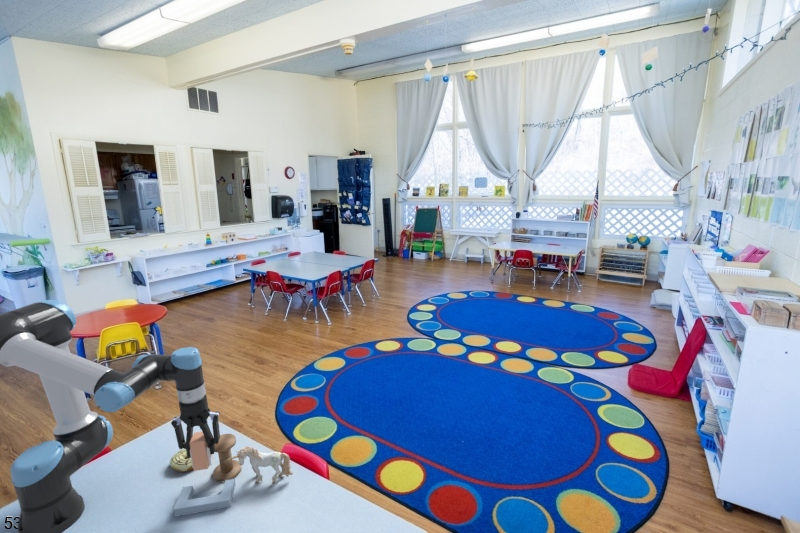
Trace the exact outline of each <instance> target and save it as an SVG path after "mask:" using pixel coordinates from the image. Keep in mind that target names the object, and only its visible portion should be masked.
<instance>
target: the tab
mask: <svg viewBox="0 0 800 533" xmlns="http://www.w3.org/2000/svg"><path fill="white" fill-rule="evenodd" d="M207 444H208V443H207V441H206V439H205V436H204V434H203V432H202V431H197V432H193V437H192V439H191V441H190V449H191V455H192V461H193V467H194V469H193V471H194V472H195V471H201V470H202V471H203V470H208V469H209V467H210V466H209V463H208V457H207V450H206V447H207Z"/></svg>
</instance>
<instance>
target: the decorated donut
mask: <svg viewBox="0 0 800 533" xmlns="http://www.w3.org/2000/svg"><path fill="white" fill-rule="evenodd" d="M169 464H170V467H171V469H173V470H174V471H176V472H181V473H183V472H190V471H194V468H193V467H192V461H191V458H188V457H187V451H186V449H184V448H182V449H179V451H177V453H175V454H174V455H172V457H171V459H170V463H169Z"/></svg>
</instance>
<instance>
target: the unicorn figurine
mask: <svg viewBox="0 0 800 533" xmlns="http://www.w3.org/2000/svg"><path fill="white" fill-rule="evenodd" d="M235 453H237V454H236V455H235V456H232V458H229V459H227V460H230V459H232V460H235V459H238V461H239V465H241V467H242V466H243V465H244V464H245V459H247V457H248V458H249V464H250V465H251V468H252V470H253V472H254V473H255V474H256V476H257V478H256V480H255V482H254V483H255V484H259V483H260V481H261V482H263V475H262V474H261V473H260V472H261V471H260V469H259V468H268V467H269V466H270V467H271V468H273V470H274V471H275V474H273V476H271V481H272V484H275V483H276V482H277V480H278V477H279V478H282V477H283V476H284V475H285V476H286V477H289V476H292V475H294V472H293V471H292V470H291V469H292V467H291V458H290V456H289V454H287V453H285V452H281V451H273V452H272V451H271V452H261V451H260V450H258V448H255V447H254V446H248V445H247V446H244V447H242V448H241V449H239V450H236V452H235ZM279 467H280V468H281V470H280V468H279Z"/></svg>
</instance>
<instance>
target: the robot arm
mask: <svg viewBox="0 0 800 533" xmlns="http://www.w3.org/2000/svg"><path fill="white" fill-rule="evenodd" d="M76 325H77V317H76V314H75V312H74V311H73V310H72V308H71V307H70V306H68V305H67V304H64V303H63V302H62V301H60V300H55V299H47V300H42V301H38V302H33V303H30V304H27V305H25V306H22V307H18V308H15V309H13V310H9V311H8V312H3V313H0V365H1V366H4V367H13V366H15V367H18V368H21V369H24V370H26V371H28V372H31V373H34V374H37V375H38V376H39V378H40V381H41V384H42V386H43V389H44V390H43V391H44V392H45V395H46V397H47V399H48V400H47V401H48V402H49V406H50V409H51V411H52V414H53V417H54V420H55V422H56V426H55V427H54V428H53V429H52V433H53V437H54V440H46V441H43V442H39V444H38V445H32V446H31V447H29V448H28V449H26V450H24V451H23V452H22V453H21V454H20V455H18V456H17V457H16V458H15V460H14V461H13V463H12V464H11V467H10V476H11V483H12V484H13V487H14V490H15V494H16V498H17V502H18V504H19V508H20V513H19V520H18V525H17V532H18V533H62V532H64V531H65V530H67V529H68V528H70V527H71V526H72V525H74V523H75V522H76V521H78V519H79V518H80V517H81V516H82V515H83V513H84V511H85V508H86V507H85V501H84V498H83V496H81V495H80V494H79V493H78V492H77V491H76V489H75V488H74V487H73V485H72V480H71V477H72V476H73V474H74V473H76V472H77V471H78V470H80V469H81V468H82V467H83V466H85V465H86V464H87V463H88V462H90V461H91V460H92V459H93V458H95V457H96V456H98V455H99V454H101V453H102V452H103V451H104V449H106V448H107V447H108V446H109V445H110V443H111V442H112V440H113V437H114V430H113V429H114V428H113V425H112V424H111V422H110V421H109V420H107V418H106V417H105V416H103V415H100V414H98V412H96V411H91V408H90V405H89V403H88V400H87V398H86V395H85V393H87V394H90V395H92V396H94V397H93V398H94V403H95V405H96V406H97V407H99V408H100V410H101V411H104V412H106V413H114V412H117V411H119V410H121V409H123V408H124V407H126V406H128V405H130V404H131V403H132V402H133V401H134V400H135V399H137V398H138V397H139V396H140V395H142V394H143V393H145V392H147V391H148V390H149V389H151V388H152V387H154V386H155V385H156V384H158V383H159V382H174V384H175V389H176V393H177V399H178V400H177V401H178V405H179V411H180V415H179V416H175V417H173V419H172V420H171V423H170V424H171V426H172V428H173V429H174V432H175V437H176V438H175V439H176V441H177V447H178V449H179V450H183V449H186V451H187V457H188V458H191V461H192V455H191V449H190V441H191V439H192V437H193V434H194V427H199V429H200V430H201V432H203V434H204V436H205V439H206V441H207V443H208V444H207V447H206V450H207V457H208V463H209V467H210V466H212V465H213V463H214V455H215V453H216V452H215V444H217V443H218V442H219V439H220V435H221V434H220V433H221V432H220V423H219V422H220V421H219V416H220V411H218V410H217V411H215V412H213V411H211V409H209V404H208V398H207V391H206V385H205V380H204V374H203V365H202V363H203V360H202V358H201V353H200V350H199V349H198V348H196V347H193V346H187V347H181V348H178V349H176V350H174V351H173V352H172V353H171V354H154V353H152V354H151V353H150V354H142V355H139V356H137V358H136V359H135V360H134V362H133V363H132V364H131V368H129V369H128V370H127V371H125V372H121V371H119V370H116V369H113V368H111V367H108V366H105V365H102V364H100V363H97V362H95V361H94V360H89V359H86V358H85V357H82V356H80V355H78V354H74V353H71V349H70V347H69V344H70V343H71V341H72V339H73V337H72V333H71V331H73V330H74V329H75V327H76ZM209 417H210V420H211V424H212V431H211V428H210V426H209V424H208V418H209ZM182 422H183V423H184V424H185V425H186V437H185V433H184V430H183V425H182ZM185 438H186V439H185ZM192 467H193V461H192ZM193 468H194V467H193Z"/></svg>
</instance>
